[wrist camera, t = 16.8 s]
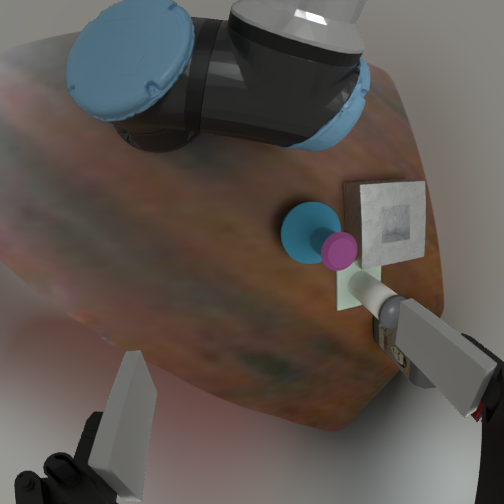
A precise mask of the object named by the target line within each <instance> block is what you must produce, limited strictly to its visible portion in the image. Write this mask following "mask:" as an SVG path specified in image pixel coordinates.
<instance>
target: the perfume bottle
mask: <svg viewBox="0 0 504 504" xmlns="http://www.w3.org/2000/svg"><path fill="white" fill-rule="evenodd" d="M281 241H282V244H283V247H284V249H285V250H286V252H287V254H288V255H289V256H290V257H291V258H293V259H294V260H296V261H298V262H300V263H304V264H314V263H319V262H321V261H323V263H324V265H325V266H326V267H327V268H328V269H330V270H333V271H341V270H344V269H346V268H347V267H349V266H350V265H351V264H352V263H353V261H354V260H355V258H356V255H357V244H356V241H355V239H354V238H353V236H351V235H350V234H348V233H346V232H341V225H340V221H339V219H338V217H337V215H336V213H335V212H334V211H333V210H332V209H331V208H330V207H329V206H327V205H325V204H323V203H319V202H305V203H301V204H299V205H297V206H295V207H294V208H293V209H291V210H290V211H289V212H288V214H287V215H286V217H285V218H284V220H283V223H282V226H281Z"/></svg>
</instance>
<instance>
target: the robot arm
mask: <svg viewBox="0 0 504 504" xmlns="http://www.w3.org/2000/svg"><path fill="white" fill-rule="evenodd" d="M366 1H367V0H239V1H237V2H236V3H234V4H233V5H232V7H231V11H230V15H229V20H228V21H223V20H215V19H207V18H197V17H190V15H189V14H188V13H187V11H186V10H184V9H183V8H182V7H180V6H178V5H177V3H175V2H174V1H172V0H123V1H121V2H118V3H116V4H114V5H112V6H110V7H109V8H107V9H105V10H104V11H102V12H101V13H100V15H99V16H98V17H97V18H96V19H95V20H93V21H92V22H90V23H88V25H86V26H85V28H84V29H83V30H82V31H81V33H80V34H79V36H78V37H77V39H76V40H75V42H74V44H73V46H72V48H71V50H70V53H69V56H68V60H67V64H66V84H67V88H68V91H69V93H70V95H71V97H72V98H73V100H74V101H75V102H76V104H77V105H78V106H79V107H81V108H82V109H83V110H84V111H85V112H86V113H88V114H89V115H90V116H93V117H94V118H95V119H100V120H102V121H107V122H109V123H112V124H114V126H115V128H116V130H117V132H118V133H119V134H120V136H121V137H122V138H123V139H124V140H125V141H126V142H127V143H129V144H130V145H132V146H134V147H136V148H138V149H141V150H144V151H148V152H156V153H158V152H168V151H172V150H176V149H178V148H181V147H183V146H185V145H186V144H188V143H190V142H191V141H192V140H193V139H195V138H196V137H197V136H198V135H199V134H200V133H207V134H214V135H221V136H228V137H234V138H240V139H246V140H251V141H257V142H262V143H267V144H272V145H276V146H278V147H280V148H284V149H286V148H287V149H294V148H296V149H301V150H307V151H323V150H326V149H329V148H331V147H333V146H334V145H336V144H337V143H339V142H340V141H341V140H342V139H343V138H344V137H345V136H346V135H347V134H348V133H349V132H350V130H351V129H352V128H353V126H354V125H355V123H356V122H357V120H358V118H359V117H360V115H361V113H362V111H363V108H364V106H365V103H366V101H365V99H364V96H365V94H366V93H367V92H368V91H369V88H370V72H369V67H368V65H367V63H366V61H365V60H364V59H363V58H362V57H361V55H362V52H363V51H364V49H365V44H364V42H363V39H362V37H361V35H360V33H359V31H358V29H357V23H356V22H357V20H358V18H359V16H360V14H361V12H362V9H363V7H364V5H365V3H366ZM395 345H396V346H397V347H398V348H399V349H400V350H401V351H402V352H403V353H404V354H405V355H406V356H407V357H408V358H409V359H410V360H411V361H412V362H413V363H414V364H415V365H416V366H417V367H418V368H419V369H420V370H421V372H422V373H423V374H424V375H425V376H426V377H427V378H428V379H429V380H430V381H431V382H432V383H433V384H434V385H435V386H436V387H437V388H438V390H439V391H440V392H441V393H442V394H443V395H444V396H445V397H446V398H447V399H448V400H449V401H450V402H451V404H452V405H453V406H454V407H455V408H456V409H457V410H458V411H459V412H460V414H461V415H462V416H463V417H464V418H466V417H467V416H469V415H470V414H472V413H473V412H475V411H476V409H477V407H478V405H479V403H480V401H481V402H482V403H483V404H484V406H483V408H482V410H481V411H480V413H479V415H478V417H477V420H476V422H478V421H479V419H480V417H481V416H482V420H481V422H482V444H481V459H480V470H479V478H478V486H477V493H476V499H475V504H504V362H503V361H502V360H501V359H499V358H498V357H497V356H496V355H494V354H493V353H492V352H491V351H489V350H488V349H487V348H484V346H483V345H482V344H480V343H478V342H477V341H476V340H475V339H474V338H472V337H471V336H468V335H466V334H463V333H462V334H459V333H458V332H457V331H456V330H454V329H453V328H451V327H450V326H449V325H448V324H446V323H445V322H443V321H442V320H441V319H440V318H438V317H437V316H436V315H434V314H433V313H432V312H430V311H429V310H427V309H426V308H425V307H423V306H422V305H421V304H419V303H418V302H416V301H415V300H414V299H412V298H411V299H407V300H404V301H401V304H400V313H399V321H398V328H397V335H396V342H395ZM156 396H157V390H156V388H155V386H154V383H153V381H152V378H151V376H150V374H149V371H148V369H147V366H146V363H145V361H144V358H143V355H142V353H141V350H137V351H126V353H125V355H124V358H123V360H122V363H121V366H120V368H119V371H118V373H117V376H116V379H115V382H114V384H113V387H112V390H111V393H110V395H109V398H108V401H107V404H106V407H105V410H104V412H93V413H92V415H91V416H90V417H89V418H88V419H87V421H86V424H85V427H84V431H83V432H82V435H81V439H80V441H79V443H78V447H77V449H76V452H75V455H74V458H72V457H71V456H70V455H69V454H67V453H61V452H58V453H55V454H52V455H51V456H49V457H48V458H47V460H46V461H45V463H44V467H43V469H44V473H45V474H46V475H47V476H48V478H40V477H39V476H38V475H37V474H36V473H35V472H32V471H23V472H21V473H20V474H19V475H18V476H17V478H16V479H15V484H14V486H15V498H16V504H118V503H117V502H116V498H117V494H118V495H119V496H120V497H121V498H122V499H123V500H127V501H137V502H142V497H143V487H144V478H145V470H146V462H147V454H148V446H149V440H150V433H151V426H152V420H153V414H154V408H155V402H156Z"/></svg>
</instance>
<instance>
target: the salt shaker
mask: <svg viewBox="0 0 504 504" xmlns="http://www.w3.org/2000/svg"><path fill="white" fill-rule="evenodd" d="M348 289H349V292H350V293H351V294H352V295H353V296H354V297H355V298H356V299H357V300H358V301H359V302H361V303H362V304H363V305H364V306H365V307H366V308H367V309H368V310H369V311H370V312H371V313H372V314H373V315H374V316H375V317H376V318H377V319H378V320H379V322H380V323H381V324H382V325H383V326H384V327H385V328H388V329H391V328H395V327H397V326H398V321H399V313H400V304H401V301H404V300H406V299H405V298H404V297H403V296H401V295H398V294H396V293H395V292H394V291H392V290H391V289H389V288H388V287H387V286H385V285H384V284H383V283H381V282H380V281H378V280H377V279H376V278H374V277H373V276H371V275H370V274H369V273H367V272H365V271H359V272H356V273H355V274H354V275H353V276H352V277H351V278H350V280H349V283H348Z"/></svg>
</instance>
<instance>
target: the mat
mask: <svg viewBox="0 0 504 504" xmlns="http://www.w3.org/2000/svg"><path fill="white" fill-rule="evenodd" d="M359 271H365V272H367V273H369V274H370V275H371V276H373V277H374V278H376V279H377V280H378V281H380V280H381V266H378V267H373V268H369V269H364V270H362V269H360V268H359V267H358V266H356V265H355V264H353V263H352V264H351V265H350V266H349V267H347V268H346V269H344V270H341V271H336V310H337V311H338V310H343V309H347V308H351V307H355V306H359V305H363V304H362V303H361V302H359V301H358V300H357V299H356V298H355V297H354V296H353V295H352V294H351V293H350V292H349V289H348V283H349V280H350V278H351V277H352V276H353V275H354V274H355V273H356V272H359Z"/></svg>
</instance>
